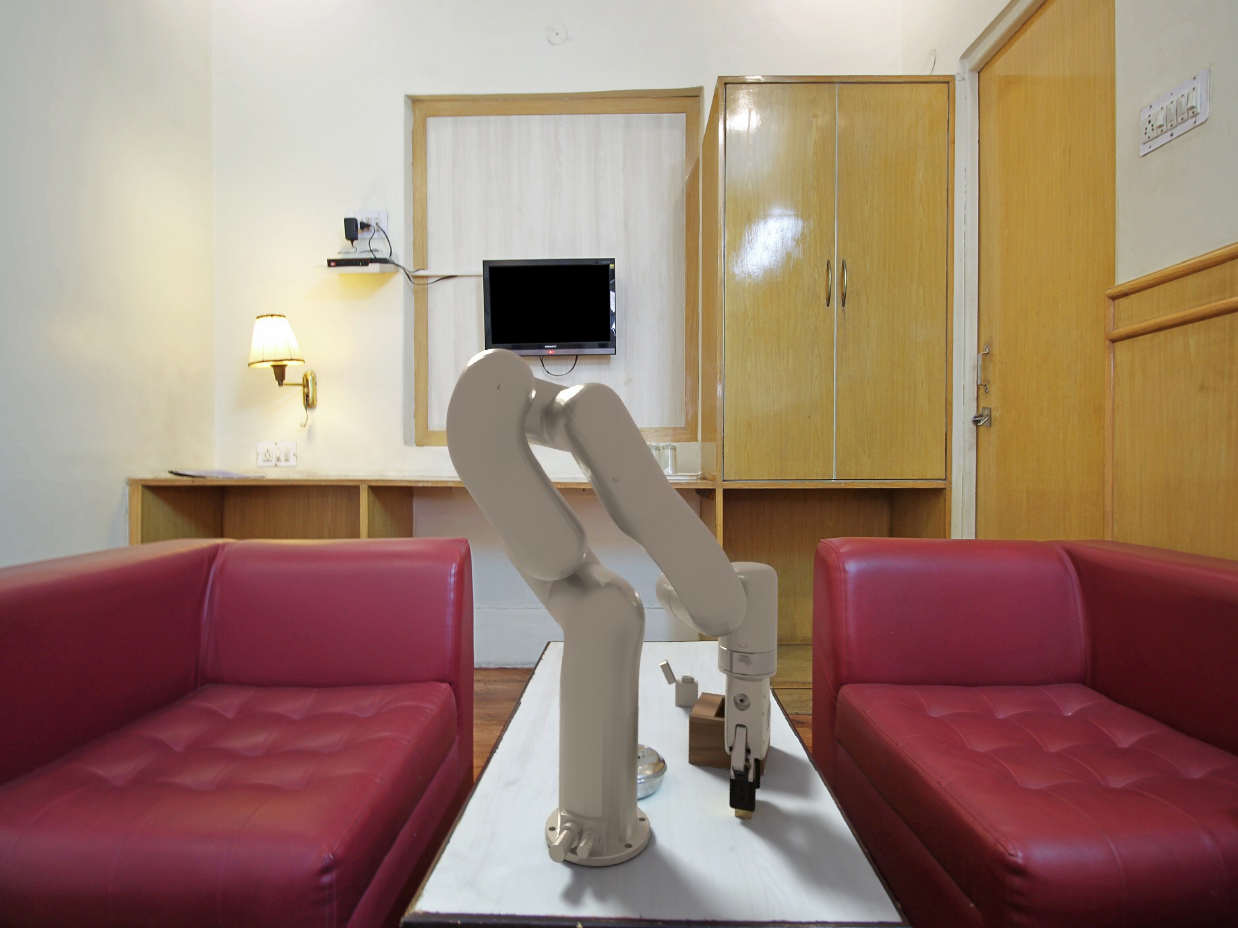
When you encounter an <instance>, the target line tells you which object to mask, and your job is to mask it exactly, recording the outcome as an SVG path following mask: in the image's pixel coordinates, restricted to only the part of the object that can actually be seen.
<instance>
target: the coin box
mask: <svg viewBox="0 0 1238 928" xmlns="http://www.w3.org/2000/svg"><path fill="white" fill-rule="evenodd" d="M771 705H772V704H771V700H770V717H771V711H772V710H771ZM770 748H771V737H770V738H769V743H768V747H767V752H766V755H765V757H764V759H762V760H761V772H760V776H764V775H765V772H766V767H767V763H768V758H769V751H770ZM731 754H732V753H731ZM731 757H732V755H729V754H728V753H727V752H726V750H725V694H720V693H719V694H718V693H711V692H704V691H702V692H701V693H700V696H698V701H697V702H696V704H695V706H694V707H692V710H691V712H690V713H689V715H688V760H687V761H688V763H689V764H695V765H700V766H706V767H710V768H711V767H712V768H716V769H717V768H718V769H723V770H729V771H731Z"/></svg>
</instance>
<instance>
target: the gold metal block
mask: <svg viewBox="0 0 1238 928" xmlns="http://www.w3.org/2000/svg"><path fill="white" fill-rule="evenodd" d="M745 764H746V765H748V768H749V761H746V760H745ZM755 769H756V762H754V779H755ZM752 814H753V812H749V811H744V810H739V809H734V817H737V818H743V819H747V820H751V819H752Z"/></svg>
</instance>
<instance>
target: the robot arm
mask: <svg viewBox="0 0 1238 928" xmlns="http://www.w3.org/2000/svg"><path fill="white" fill-rule="evenodd" d="M445 424H446V425H445V426H446V427H445V431H446V432H445V434H446V444H447V449H448V453H449V457H450V460H451V463H452V465H453V467H454V470H455V472H456V473H457V476H458V477H459V479H460V482H461V483H462V485H463V486H464V487H465V489H466V490H467V492H468V494H469V495H470V497H472V499H473V501H474V502H475V503H476V504H475V505H477V507H478V508H479V509H480V511H481V512H482V514H483V515H484V517H485V519H486V520H487V521H488V523H489V524H490V526H491V527H492V529H494V531H495V532H496V534H497V535H498V538H499V543H500V546H501V548H502V551H503V553H504V554H505V555H506V557H507V558H508V560H509V561H510V563H511V565H513V567H514V568H515V570H517V573H519V575H520V576H521V578H522V579H523V580H524V582H525V583H526V584H527V586H528V587H529V588H530V590H531V591H532V592H533V593H534V595H535V596H536V597H537V599H538V600H539V602H540V603H541V604H542V605H543V607H544V608H545V609H546V610H547V613H549V614H550V616H551V617H552V619H553V620H554V621H555V622H556V623H557V625H558V626H559V627H560V629H561V630H562V632H563V649H562V657H561V663H560V672H559V673H560V674H559V692H558V693H559V697H558V698H559V699H558V701H559V702H558V703H559V704H558V705H559V719H558V720H559V721H558V722H559V732H558V733H559V735H558V737H559V738H558V740H559V741H558V743H559V745H558V806H557V808H556V809H554V810H553V811H552V813H550V814H549V816H548V818H547V820H546V823H545V827H544V828H545V829H544V831H545V833H544V834H545V840H546V842H547V845H548V847H549V848H548V856H549V858H550V859H551V860H552V862H554V863H558V864H559V863H562V862H563V861H564V860H566V861H568V862H571V863H574V864H576V865H577V864H578V865H581V866H589V867H605V866H611V865H618V864H620V863H623V862H627V861H628V860H630V859H632V858H634V857H636V856H637V855H639V854H640V853H642V851H643V850H644V849H645V848H646V846H647V845H648V843H649V841H650V836H651V823H650V820H649V817H648V816H647V815H646V813H645V812H644V811H643V810H642V809H641V808H640V807H638V798H639V797H638V796H639V795H638V793H639V792H638V791H639V787H638V786H639V783H638V781H639V710H640V709H639V706H640V705H639V697H640V695H639V694H640V693H639V691H640V690H639V689H640V685H639V684H640V667H641V657H642V651H643V646H644V639H645V633H646V613H645V607H644V605H643V601H642V599H641V597H640V595H639V593H638V592H637V590H636V589H635V587H633V586H632V584H631V583H630V582H629V581H627V579H625V578H623V577H622V576H621V575H619V574H617V573H615V572H614V571H612V570H610V569H608V568H606V567H605V566H604V565H603V564H602V563H601V561H600V560H599V558H598V557H597V556H596V554H595V553H594V551H593V550H592V549H591V548H590V546H589V538H588V533H587V530H586V526H585V525H584V523H583V521H582V519H581V518H580V516H579V515H578V513H576V511H575V510H574V509H573V508H572V507H571V506H570V504H569V503H568V502H567V500H566V499H565V498H564V497H563V495H562V494H561V492H560V490H559V489H558V488H557V486H555V484H554V483H553V481H552V479H550V477H549V476H548V474H547V473H546V470H544V468H543V466H542V464H541V463H540V461H539V460H538V459H537V457H536V456H535V454H534V452H533V450H532V448H531V446H530V444H529V443H531V444H534V445H538V446H543V447H546V448H548V449H553V450H558V451H562V452H566V453H567V452H568V453H570V454H571V456H572V458H573V459H574V461H575V462H576V464H577V465H578V467H579V469H580V470H581V472H582V473H583V475H584V477H585V479H586V480H587V482H588V483H589V485H590V487H591V489H592V490H593V491H594V494H595V495H596V497H597V499H598V501H599V502H600V503H601V505H602V507H603V509H604V511H605V513H606V514H607V516H608V517H609V519H610V520H611V521H612V523H614V525H616V526H617V528H618V529H619V530H620V531H621V532H622V533H623V534H624V535H626V536H627V537H628V538H629V539H631V541H633V542H634V543H635V544H637V546H638V547H640V549H642V550H643V551H644V552H645V553H646V554H647V555H648V556H649V558H650V559H651V560H652V561H653V562H654V563H655V564H656V566H657V567H658V568H659V570H660V571H661V573H660V574H659V576H658V577H657V580H656V584H655V594H656V599H657V601H658V603H659V605H660V606H661V608H662V609H663V610H664V611H665V612H667V614H669V615H671V616H672V617H673V618H675V619H677V620H678V621H680V623H681V622H682V623H684V624H686V625H687V626H689V627H690V628H691V629H693V630H694V631H696V632H698V633H700V634H701V635H703V636H706V637H709V638H710V637H711V638H717V639H718V640H717V670H718V671H719V672H720V673H722V674H724V675H725V689H724V690H725V692H724V693H725V694H724V695H725V750H726V752H727V753H728V754H729V755H732V757H731V770H730V775H729V793H728V794H729V796H728V798H729V801H728V802H729V807H730V808H731V809H733V810H735V809H739V810H744V811H749V812H752V813H754V812H755V811H756V805H757V804H756V803H757V801H756V798H757V797H756V796H757V793H756V792H757V790H759V789H760V787H761V775H760V772H761V760H762V759H764V757H765V755H766V752H767V747H768V743H769V738H770V739H771V716H770V701H771V685H770V684H771V683H770V682H771V681H770V678H773V677H775V676H776V674H777V671H778V670H777V669H778V668H777V667H778V666H777V665H778V664H777V663H778V661H777V660H778V658H777V657H778V600H779V598H778V594H779V590H778V589H779V587H778V585H779V581H778V574H777V571H776V570H775V568H773V567H772V566H771V565H768V564H766V563H761V562H755V561H733V562H731V561H730V559H729V558H728V556H727V553H726V552H725V550H724V549H723V547H722V546H721V544H720V542H719V541H718V539H717V538H716V537H715V535H714V534H713V533H712V532H711V530H710V529H709V527H708V526H707V525H706V524H705V523H704V522H703V520H702V518H700V517H699V516H698V515H697V513H696V512H695V511H694V510H693V509H692V508H691V507H690V505H689V504H688V503H687V501H686V500H685V499H684V498H683V497H682V496H681V495H680V493H679V492H678V491H677V490H676V489H675V488H674V486H673V485H672V484H671V482H670V481H669V479H668V478H667V476H666V474H665V472H664V471H663V469H662V467H661V466H660V464H659V461H657V458H656V457H655V455H654V454H653V451H652V450H651V447H649V445H648V443H647V441H646V439H645V438H644V436H643V434H642V433H641V431H640V429H639V428H638V426H637V424H636V422H635V421H634V419H633V417H632V415H631V414H630V411H629V410H628V408H627V407H626V405H625V403H624V401H623V400H622V399H621V397H620V396H619V394H618V393H616V392H615V390H614V389H613V388H611V387H610V386H608V385H606V384H604V383H602V382H601V383H600V382H585V383H579V384H577V385H574V386H571V387H570V386H567V385H563V384H559V383H554V382H551V381H549V380H545V379H542V378H538V377H536V376H534V373H533V370H532V369H531V366H530V365H529V364H528V362H527V361H526V360H525V359H523V357H521V355H518V354H517V353H515V352H514V351H512V350H509V349H505V348H490V349H487V350H484V351H481V352H479V353H477V354H476V355H475V356H473V357H472V358H471V359H469V361H468V362H467V363H466V365H465V366H464V368H463V369H462V371H461V373H460V375H459V377H458V379H457V382H456V383H455V386H454V388H453V391H452V394H451V396H450V400H449V404H448V407H447V412H446V421H445ZM731 753H732V754H731ZM745 760H746V761H749V768H748V765H746V764H745ZM754 762H756V769H755V779H754Z"/></svg>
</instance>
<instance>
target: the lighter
mask: <svg viewBox="0 0 1238 928" xmlns="http://www.w3.org/2000/svg"><path fill="white" fill-rule="evenodd" d="M659 667H660V669H661V671H662V673H663V675H664V678H665V680H666V681H667V684H668V685H669V686H670V685H673V684H675V686H674V688H675V690H674V691H675V695H674V696H675V697H674V699H675V701H674V705H675V707H683V708H684V707H685V708H694V706H695V704H696V702H697V701H698V699H699V680H695V677H693V676H692V675H685V674H681V679H677V678H676V677H675V675H674V672H673V669H672V667H671V665H670V662H669V661H668V659H664V660H662V661H660V662H659Z"/></svg>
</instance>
